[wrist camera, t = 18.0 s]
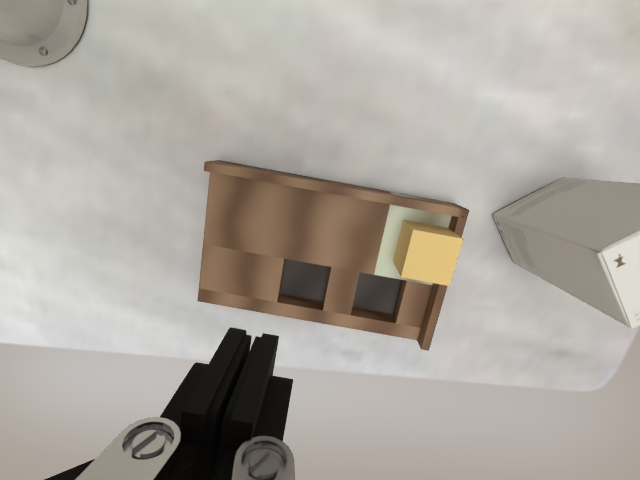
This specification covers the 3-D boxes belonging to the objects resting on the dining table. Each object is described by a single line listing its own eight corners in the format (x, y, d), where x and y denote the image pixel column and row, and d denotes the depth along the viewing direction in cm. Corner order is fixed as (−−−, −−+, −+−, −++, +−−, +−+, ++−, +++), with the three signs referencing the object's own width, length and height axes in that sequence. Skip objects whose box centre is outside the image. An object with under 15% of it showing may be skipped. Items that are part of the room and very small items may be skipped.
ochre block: (392, 261, 37) (400, 277, 32) (403, 219, 35) (413, 229, 31) (435, 269, 37) (449, 286, 32) (447, 227, 35) (463, 238, 31)
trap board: (205, 292, 41) (191, 308, 37) (218, 160, 37) (204, 161, 33) (419, 330, 41) (428, 350, 37) (454, 203, 37) (469, 210, 33)
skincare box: (511, 263, 39) (626, 336, 24) (488, 210, 37) (593, 252, 22) (587, 227, 37) (760, 280, 22) (566, 171, 36) (734, 187, 21)
